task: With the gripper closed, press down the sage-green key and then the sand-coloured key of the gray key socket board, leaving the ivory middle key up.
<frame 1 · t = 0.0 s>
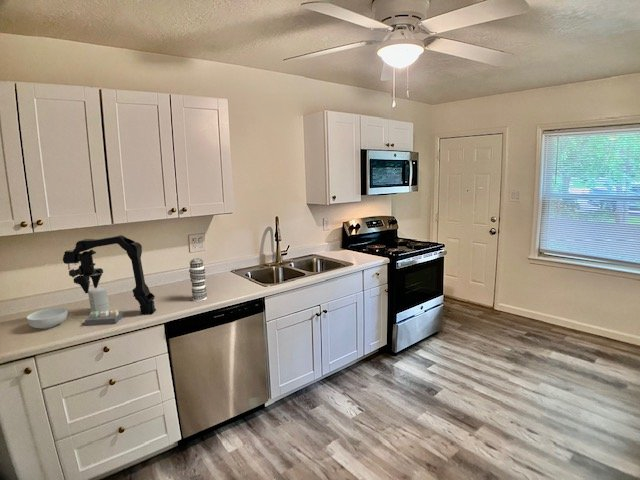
hand: (91, 290, 195), 15 cm above the worktop, tool pointing down, fingers open, 9 cm apart
supplement box: (100, 311, 204), on the worktop
decorative candle: (199, 299, 220), on the worktop
gray key socket board: (105, 320, 190), on the worktop
key mid: (104, 314, 189), point 4 cm above the worktop, slide at 0.0 cm
key 2: (114, 313, 190), point 4 cm above the worktop, slide at 0.0 cm
key 1: (94, 314, 189), point 4 cm above the worktop, slide at 0.0 cm
cereal bowl: (49, 326, 186), on the worktop
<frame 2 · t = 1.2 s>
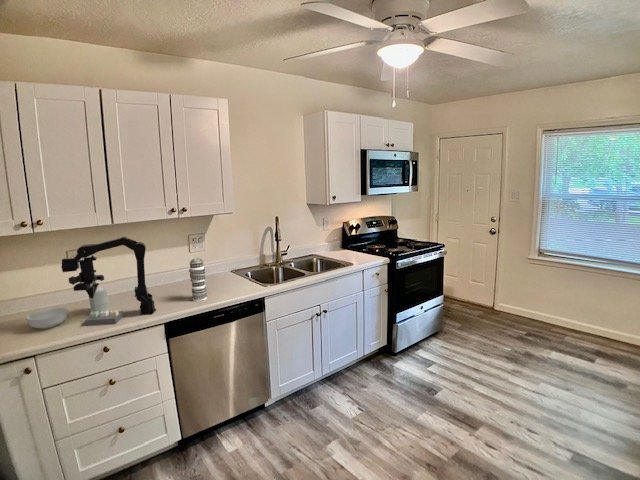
hand: (91, 298, 187), 13 cm above the worktop, tool pointing down, fingers closed
nothing on the worktop moved.
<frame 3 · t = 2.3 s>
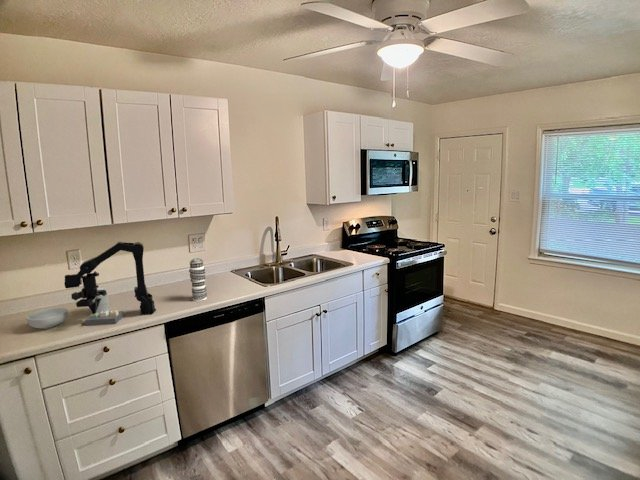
hand: (94, 313, 189), 5 cm above the worktop, tool pointing down, fingers closed, pressing on key 1
key 1: (94, 316, 189), point 3 cm above the worktop, slide at 0.7 cm, touching gripper
everything else where it was.
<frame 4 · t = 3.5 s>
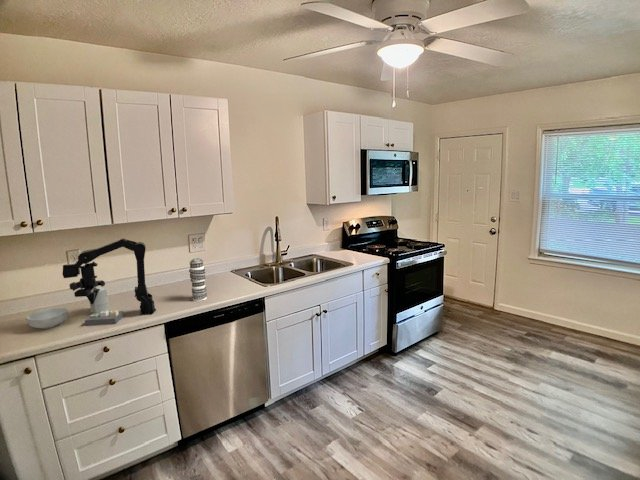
hand: (92, 303, 188), 10 cm above the worktop, tool pointing down, fingers closed
key 1: (94, 317, 189), point 3 cm above the worktop, slide at 1.3 cm
everything else where it was.
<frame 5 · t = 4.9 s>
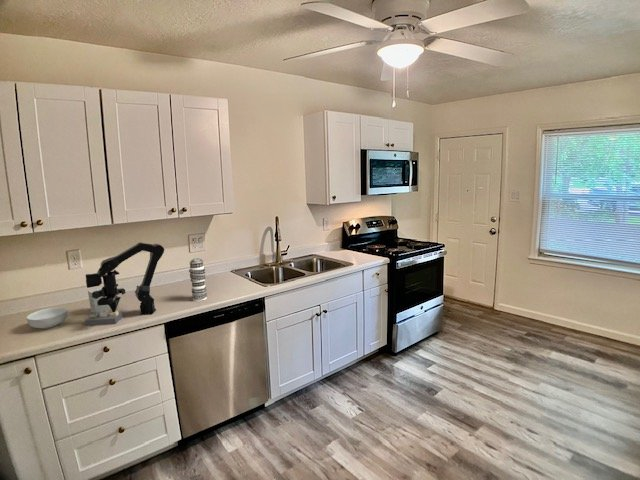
hand: (114, 311, 189), 5 cm above the worktop, tool pointing down, fingers closed, pressing on key 2
key 2: (114, 314, 190), point 3 cm above the worktop, slide at 0.5 cm, touching gripper
everything else where it was.
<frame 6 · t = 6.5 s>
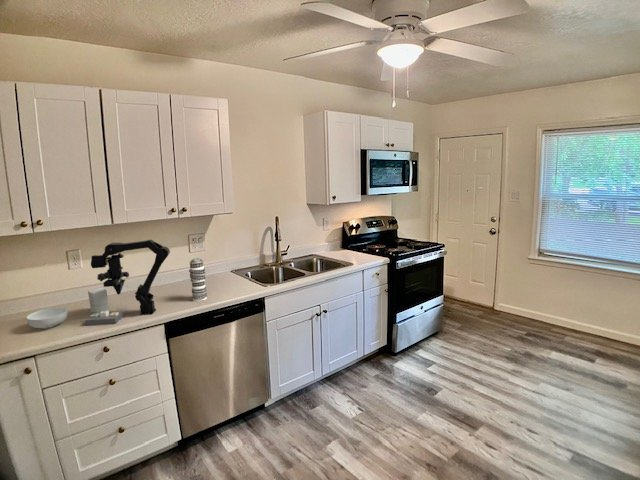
hand: (118, 294, 194), 12 cm above the worktop, tool pointing down, fingers closed
key 2: (114, 315, 190), point 3 cm above the worktop, slide at 1.3 cm
everything else where it was.
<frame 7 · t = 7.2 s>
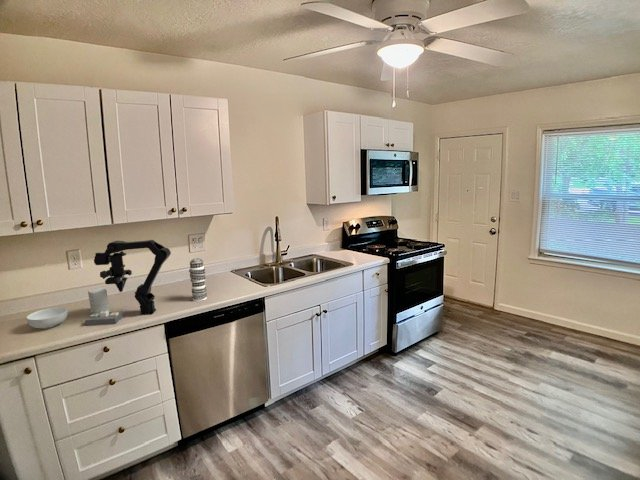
hand: (121, 291, 196), 13 cm above the worktop, tool pointing down, fingers closed
nothing on the worktop moved.
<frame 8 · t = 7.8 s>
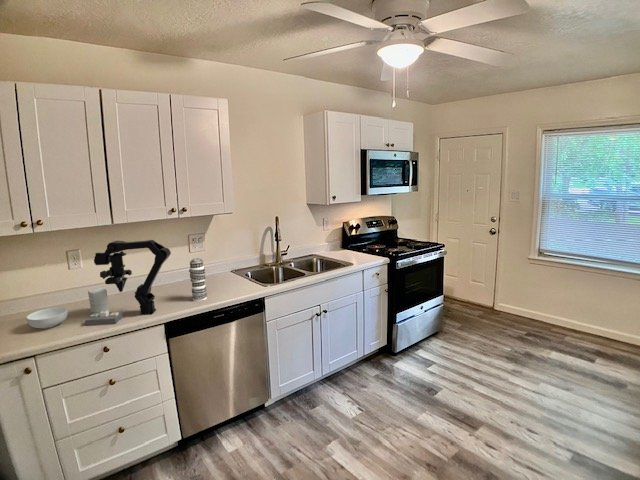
hand: (121, 291, 196), 13 cm above the worktop, tool pointing down, fingers closed
nothing on the worktop moved.
at the end: key 1 slide at 1.3 cm; key 2 slide at 1.3 cm; key mid slide at 0.0 cm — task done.
